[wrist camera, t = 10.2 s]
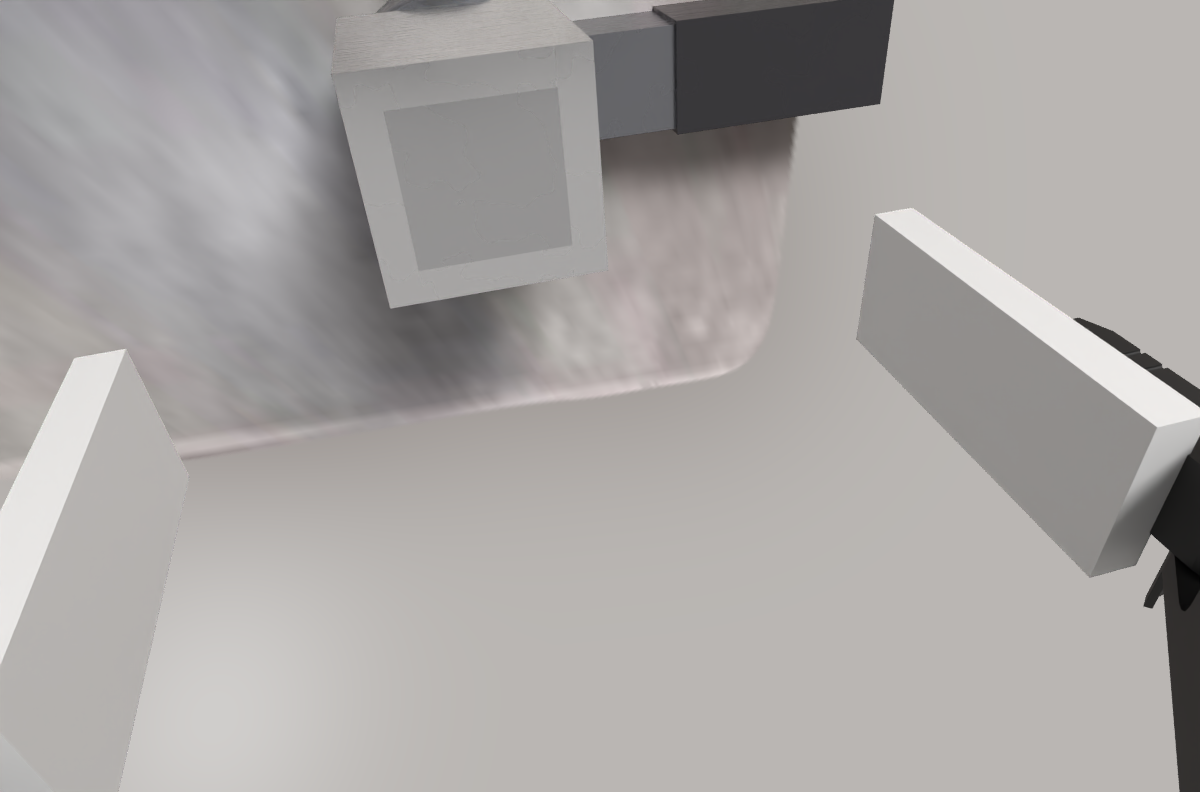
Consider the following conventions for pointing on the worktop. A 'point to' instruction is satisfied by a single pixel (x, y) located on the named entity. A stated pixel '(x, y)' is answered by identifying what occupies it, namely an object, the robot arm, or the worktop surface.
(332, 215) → the worktop surface
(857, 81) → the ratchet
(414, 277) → the brushed cube with inset
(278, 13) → the worktop surface
